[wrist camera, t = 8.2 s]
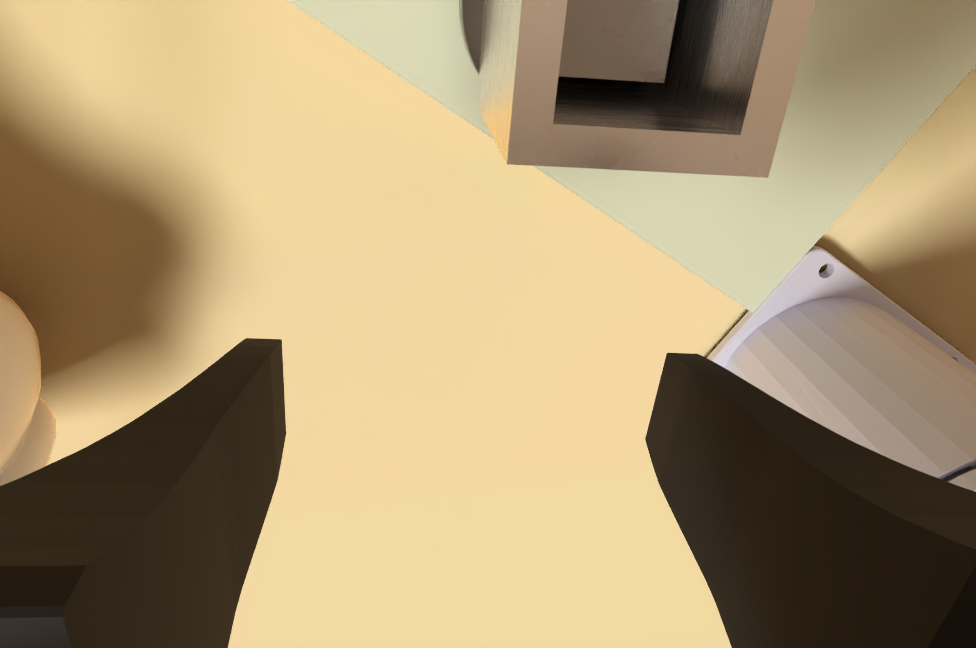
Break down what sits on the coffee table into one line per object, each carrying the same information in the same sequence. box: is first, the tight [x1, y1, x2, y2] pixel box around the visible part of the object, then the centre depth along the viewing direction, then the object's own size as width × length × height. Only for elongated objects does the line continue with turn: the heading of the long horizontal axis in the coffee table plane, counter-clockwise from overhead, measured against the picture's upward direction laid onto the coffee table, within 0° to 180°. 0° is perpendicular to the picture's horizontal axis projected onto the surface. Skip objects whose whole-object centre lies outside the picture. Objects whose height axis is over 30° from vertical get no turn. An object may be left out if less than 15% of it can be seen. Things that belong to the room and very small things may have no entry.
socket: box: [477, 0, 816, 178], centre depth 14 cm, size 5×5×6 cm
